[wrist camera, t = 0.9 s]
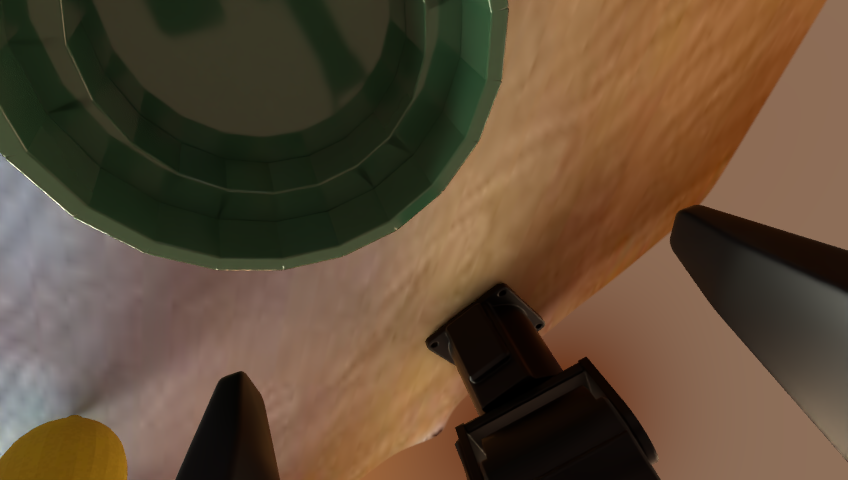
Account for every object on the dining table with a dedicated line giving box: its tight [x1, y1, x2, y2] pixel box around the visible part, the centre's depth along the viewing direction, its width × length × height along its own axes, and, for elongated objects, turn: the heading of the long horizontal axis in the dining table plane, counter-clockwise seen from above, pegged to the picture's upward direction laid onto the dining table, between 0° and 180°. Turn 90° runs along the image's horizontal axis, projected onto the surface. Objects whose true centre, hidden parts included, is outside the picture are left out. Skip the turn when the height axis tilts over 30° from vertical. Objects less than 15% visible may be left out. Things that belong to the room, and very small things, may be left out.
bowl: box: [0, 0, 509, 270], centre depth 16 cm, size 14×14×5 cm
